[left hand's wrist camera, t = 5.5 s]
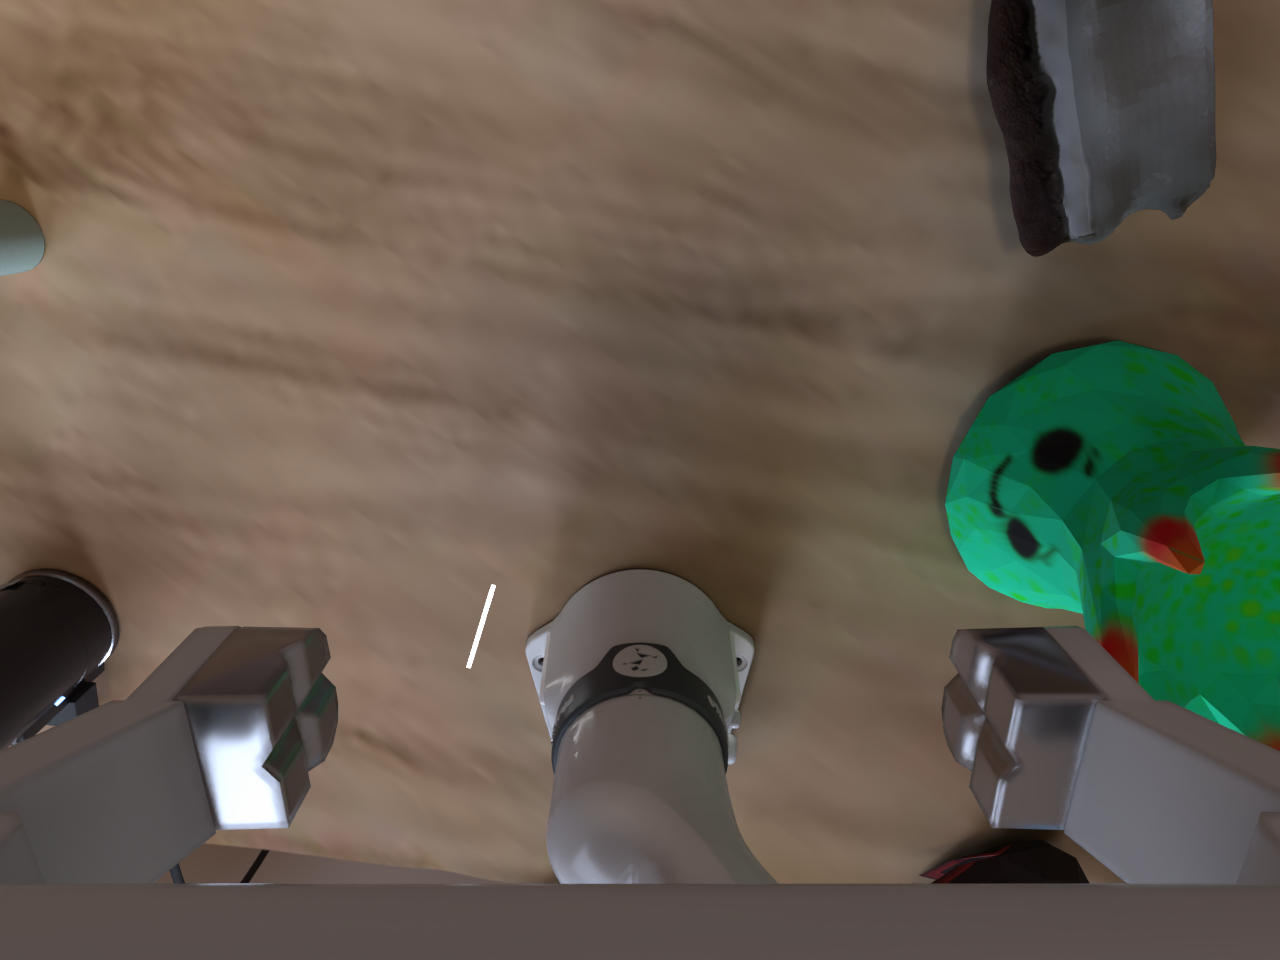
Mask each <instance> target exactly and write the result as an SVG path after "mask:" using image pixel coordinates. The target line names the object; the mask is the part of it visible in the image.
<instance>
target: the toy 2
mask: <svg viewBox="0 0 1280 960" xmlns="http://www.w3.org/2000/svg"><path fill="white" fill-rule="evenodd" d="M945 506H946V511H947V517H948V522H949V527H950V532H951V536H952V538H953V540H954V542H955V544H956V546H957V548H958V550H959V552H960V554H961V556H962V558H963V560H964V562H965V564H966V566H967V568H968V570H969V571H970V572H971V573H973V574H974V575H975V576H976V577H977V578H979V579H980V580H981V581H982V582H983V583H984V584H986V585H987V586H988V587H990V588H992V589H994V590H996V591H998V592H1001V593H1003V594H1005V595H1007V596H1010V597H1012V598H1014V599H1016V600H1018V601H1021V602H1024V603H1028V604H1032V605H1036V606H1040V607H1044V608H1061V609H1065V610H1070V611H1074V612H1078V613H1082V614H1083V616H1084V622H1085V629H1086V631H1087V632H1088V633H1089V634H1090V635H1091V636H1092V637H1093V638H1094V639H1095V640H1096V641H1097V642H1098V643H1099V644H1100V645H1101V646H1102V647H1103V648H1104V649H1105V650H1106V651H1107V652H1108V653H1109V654H1110V655H1111V656H1112V657H1113V658H1114V659H1115V660H1116V661H1117V662H1118V663H1119V664H1120V665H1121V666H1122V667H1123V668H1124V669H1125V670H1126V671H1127V672H1128V673H1129V675H1130V676H1131V677H1132V678H1133V679H1134V680H1135V681H1136V682H1137V683H1138V684H1139V685H1140V686H1141V687H1142V688H1143V689H1144V690H1145V691H1146V692H1147V693H1148V694H1149V695H1150V696H1151V697H1152V698H1153V699H1154V700H1155V701H1170V702H1172V703H1174V704H1176V705H1179V706H1181V707H1183V708H1186V709H1188V710H1190V711H1192V712H1194V713H1196V714H1199V715H1201V716H1203V717H1205V718H1207V719H1210V720H1212V721H1214V722H1216V723H1218V724H1221V725H1223V726H1225V727H1227V728H1229V729H1232V730H1234V731H1236V732H1238V733H1240V734H1243V735H1245V736H1247V737H1249V738H1251V739H1254V740H1256V741H1258V742H1260V743H1262V744H1265V745H1267V746H1269V747H1271V748H1274V749H1276V750H1278V751H1280V449H1274V448H1266V447H1257V446H1245V444H1244V443H1243V441H1242V440H1241V438H1240V436H1239V434H1238V432H1237V429H1236V425H1235V423H1234V421H1233V419H1232V418H1231V416H1230V414H1229V412H1228V410H1227V408H1226V406H1225V404H1224V403H1223V401H1222V399H1221V397H1220V395H1219V393H1218V391H1217V390H1216V388H1215V386H1214V384H1213V382H1212V381H1211V380H1209V379H1208V378H1207V377H1205V376H1204V375H1203V374H1201V373H1200V372H1199V371H1197V370H1196V369H1195V368H1193V367H1192V366H1191V365H1189V364H1188V363H1187V362H1186V361H1184V360H1183V359H1182V358H1180V357H1179V356H1178V355H1174V354H1170V353H1166V352H1162V351H1158V350H1154V349H1150V348H1146V347H1142V346H1138V345H1134V344H1131V343H1127V342H1123V341H1119V340H1116V341H1112V342H1107V343H1102V344H1097V345H1092V346H1087V347H1082V348H1077V349H1073V350H1068V351H1063V352H1058V353H1053V354H1051V355H1049V356H1048V357H1046V358H1045V359H1044V360H1042V361H1041V362H1039V363H1038V364H1036V365H1035V366H1033V367H1032V368H1030V369H1029V370H1027V371H1026V372H1025V373H1023V374H1022V375H1020V376H1019V377H1017V378H1016V379H1014V380H1013V381H1011V382H1010V383H1008V384H1007V385H1005V386H1004V387H1003V388H1001V389H1000V390H998V391H997V392H995V393H994V394H992V395H991V396H989V398H988V399H987V401H986V403H985V405H984V406H983V408H982V410H981V411H980V413H979V415H978V416H977V418H976V420H975V421H974V423H973V425H972V426H971V428H970V430H969V431H968V433H967V435H966V436H965V438H964V440H963V441H962V443H961V445H960V446H959V448H958V450H957V451H956V453H955V455H954V456H953V461H952V467H951V473H950V478H949V484H948V490H947V495H946V501H945Z"/></svg>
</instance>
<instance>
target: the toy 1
mask: <svg viewBox="0 0 1280 960" xmlns="http://www.w3.org/2000/svg"><path fill="white" fill-rule="evenodd" d="M919 876H923V877H927V878H931V879H935V881H934V882H932V883H931V884H1090V883H1089V881H1088V880H1087V878H1086V876H1085V874H1084V872H1083V870H1082V868H1081V867H1080V865H1079V863H1078V861H1077V859H1076V858H1075V857H1073V856H1071V855H1069V854H1067V853H1065V852H1063V851H1062V850H1060V849H1058V848H1056V847H1054V846H1052V845H1050V844H1048V843H1047V842H1045V841H1043V840H1035V841H1018V842H1013V843H1010V844H1007V845H1004V846H1001V847H998V848H995V849H992V850H989V851H985V852H981V853H977V854H973V855H969V856H965V857H961V858H957V859H953V860H950V861H948V862H946V863H944V864H942V865H940V866H938V867H936V868H933V869H931V870H929V871H927V872H925V873H923V874H921V875H919Z"/></svg>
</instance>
